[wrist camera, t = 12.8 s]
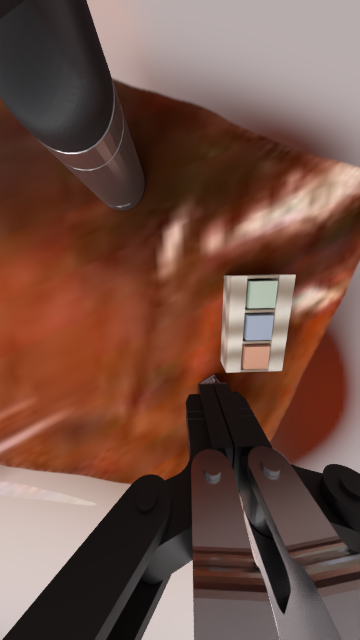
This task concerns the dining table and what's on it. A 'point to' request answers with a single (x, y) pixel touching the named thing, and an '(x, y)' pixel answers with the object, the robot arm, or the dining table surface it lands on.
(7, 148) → the dining table surface
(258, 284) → the tile sage
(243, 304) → the tile board
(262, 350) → the tile terracotta
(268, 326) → the pale blue cube
